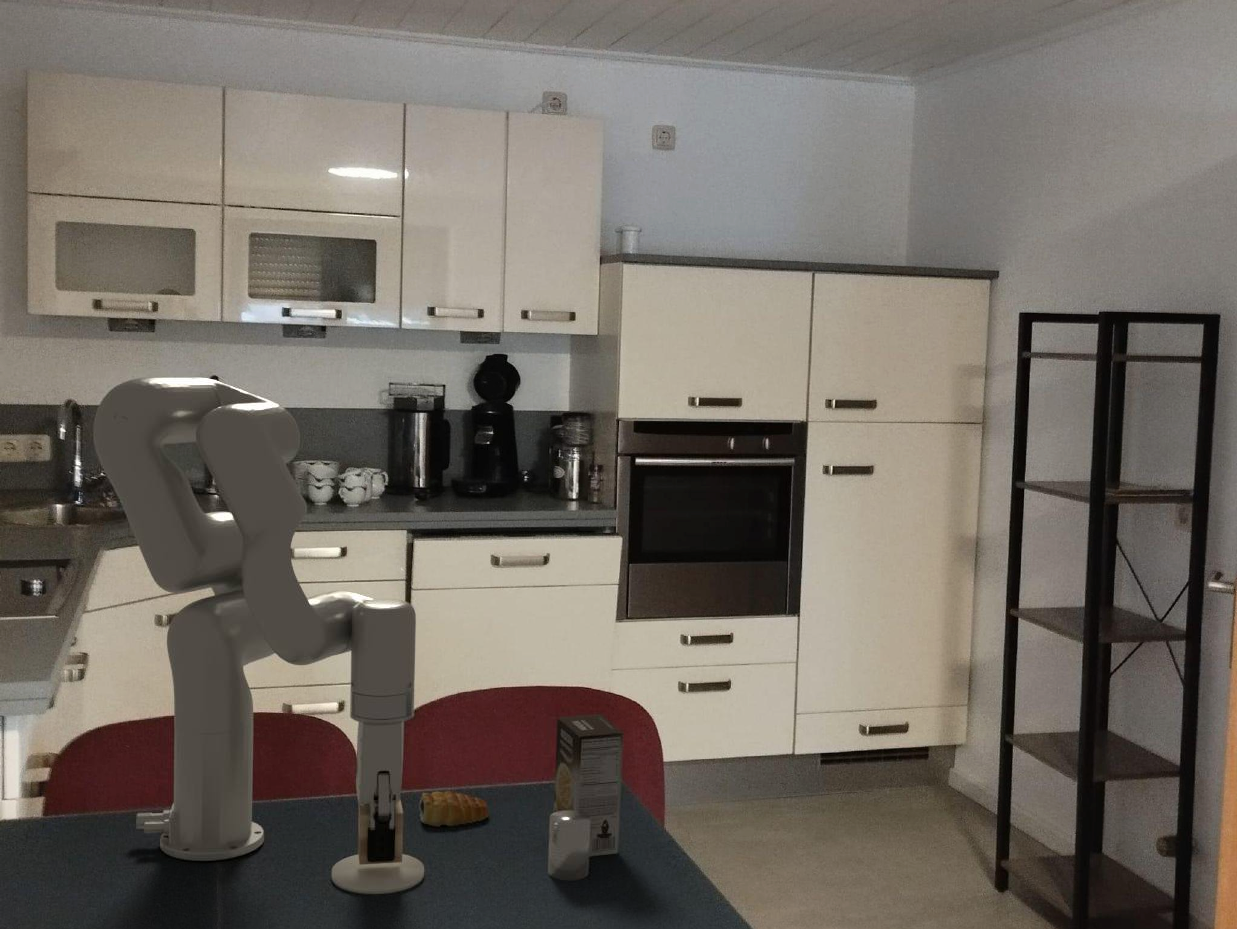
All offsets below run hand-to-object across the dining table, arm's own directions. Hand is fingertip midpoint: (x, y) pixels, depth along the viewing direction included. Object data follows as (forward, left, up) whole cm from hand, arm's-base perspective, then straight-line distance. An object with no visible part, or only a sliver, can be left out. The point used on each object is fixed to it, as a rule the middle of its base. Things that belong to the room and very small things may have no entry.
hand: (379, 850), depth 161 cm
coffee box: (+27, +7, -3) cm, 28 cm away
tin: (+23, -2, -3) cm, 23 cm away
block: (0, 0, -1) cm, 1 cm away
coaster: (0, 0, -3) cm, 3 cm away
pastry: (+10, +19, -4) cm, 22 cm away
